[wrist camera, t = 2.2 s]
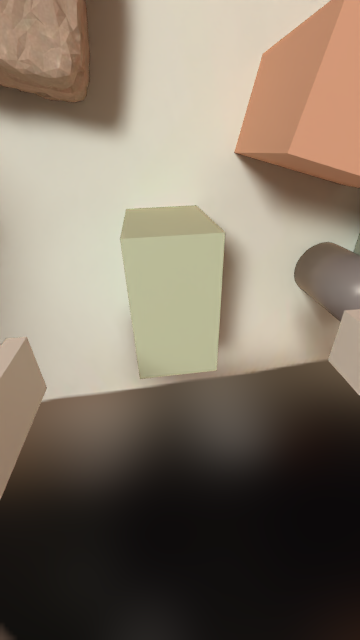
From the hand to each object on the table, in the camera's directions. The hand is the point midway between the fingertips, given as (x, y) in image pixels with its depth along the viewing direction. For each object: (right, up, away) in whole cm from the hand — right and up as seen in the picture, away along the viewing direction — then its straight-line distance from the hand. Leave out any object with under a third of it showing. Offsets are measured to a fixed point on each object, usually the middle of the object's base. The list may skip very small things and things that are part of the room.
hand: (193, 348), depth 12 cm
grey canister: (+10, +5, +10) cm, 15 cm away
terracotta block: (+7, +13, +5) cm, 15 cm away
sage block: (-2, +5, +8) cm, 10 cm away
